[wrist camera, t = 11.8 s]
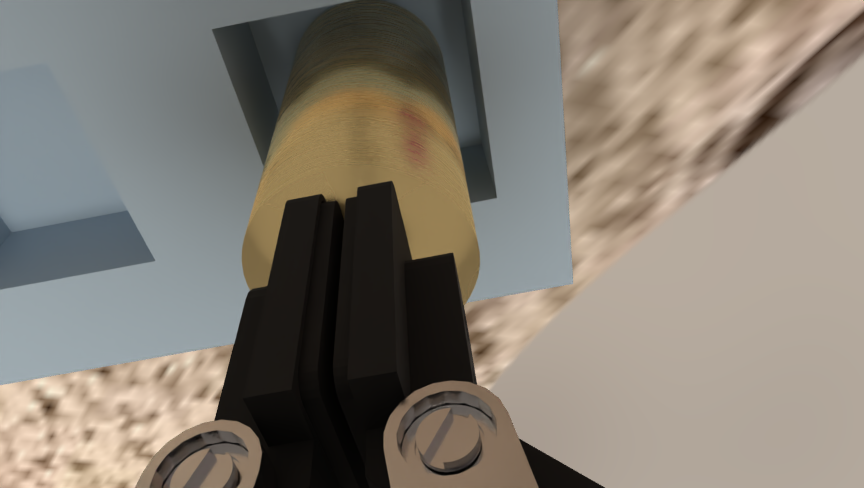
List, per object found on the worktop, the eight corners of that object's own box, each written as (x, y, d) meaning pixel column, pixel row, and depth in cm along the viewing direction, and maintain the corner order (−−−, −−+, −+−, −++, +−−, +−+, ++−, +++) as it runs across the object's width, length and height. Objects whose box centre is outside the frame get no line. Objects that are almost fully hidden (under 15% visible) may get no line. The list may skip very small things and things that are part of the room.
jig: (-248, -74, 15) (-418, -33, 12) (506, -238, 14) (543, -242, 11) (28, 301, 22) (-31, 390, 19) (543, 207, 21) (572, 283, 18)
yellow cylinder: (269, 25, 16) (197, 205, 10) (421, -22, 16) (446, 137, 9) (327, 156, 19) (297, 369, 12) (460, 120, 18) (501, 321, 12)
